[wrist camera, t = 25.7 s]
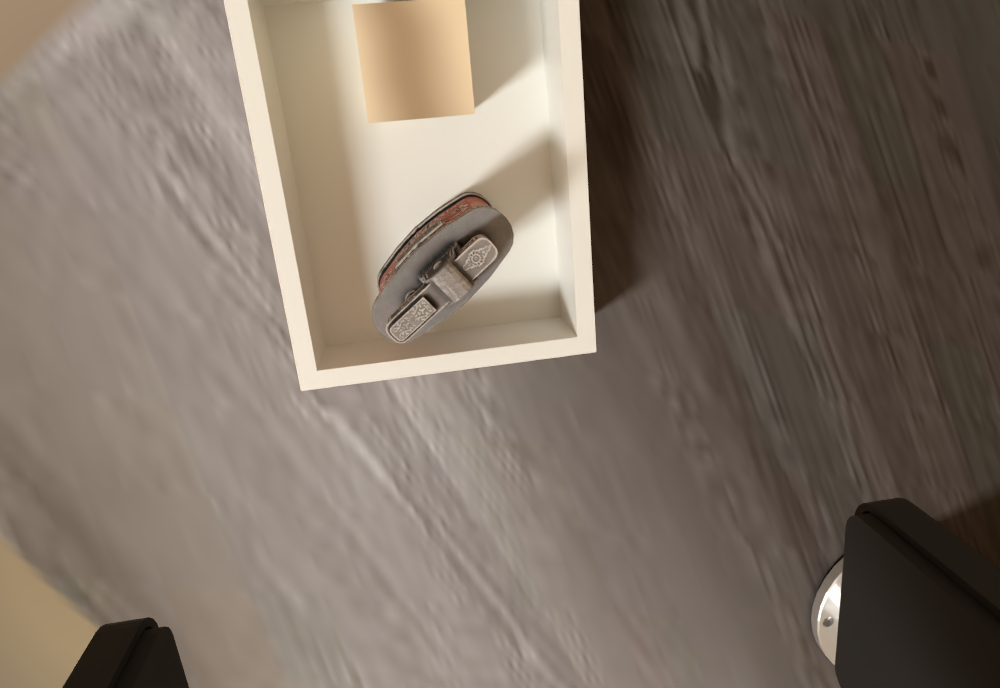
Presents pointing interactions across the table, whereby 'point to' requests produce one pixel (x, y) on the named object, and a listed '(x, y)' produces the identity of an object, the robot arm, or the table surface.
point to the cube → (414, 59)
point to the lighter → (440, 266)
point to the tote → (419, 185)
